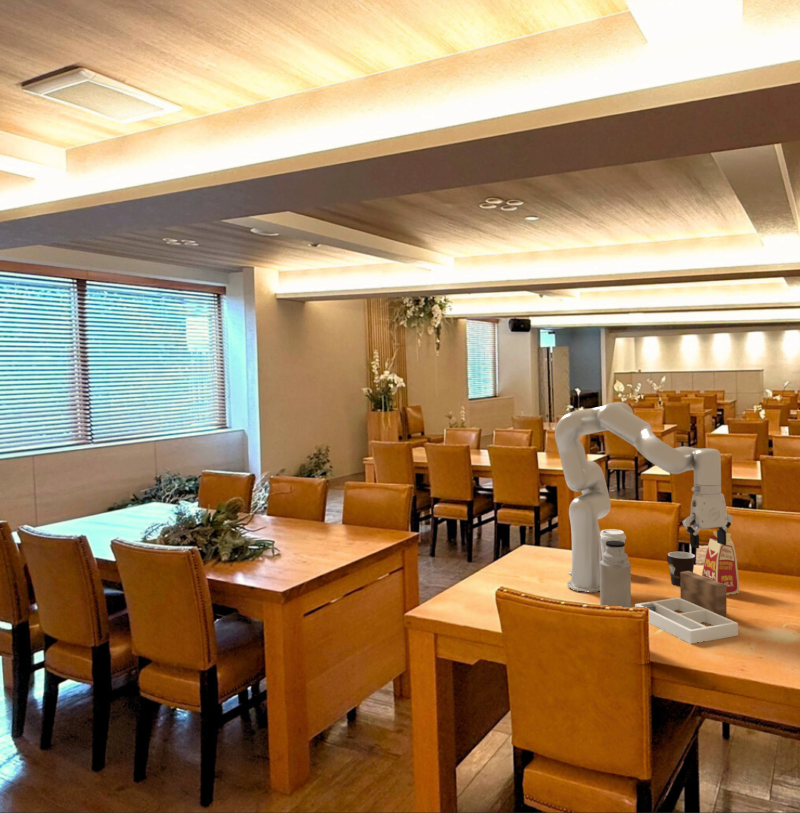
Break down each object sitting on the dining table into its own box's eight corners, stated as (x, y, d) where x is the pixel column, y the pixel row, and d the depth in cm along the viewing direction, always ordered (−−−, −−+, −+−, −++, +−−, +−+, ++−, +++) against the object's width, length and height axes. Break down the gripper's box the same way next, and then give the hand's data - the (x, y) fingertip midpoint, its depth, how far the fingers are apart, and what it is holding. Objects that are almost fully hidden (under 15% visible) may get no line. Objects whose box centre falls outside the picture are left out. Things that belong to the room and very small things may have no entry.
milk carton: (718, 596, 236) (718, 535, 235) (699, 587, 245) (699, 528, 244) (742, 593, 238) (742, 532, 237) (722, 585, 247) (722, 526, 246)
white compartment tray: (635, 615, 220) (634, 604, 220) (678, 608, 226) (678, 597, 225) (690, 644, 198) (690, 631, 198) (738, 635, 203) (738, 623, 203)
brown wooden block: (680, 603, 231) (680, 572, 230) (688, 602, 232) (688, 570, 231) (717, 619, 215) (717, 586, 215) (726, 618, 216) (726, 585, 216)
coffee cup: (596, 569, 270) (595, 528, 269) (622, 568, 269) (622, 528, 268) (602, 576, 260) (602, 535, 259) (629, 576, 260) (629, 534, 259)
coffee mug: (697, 588, 245) (697, 558, 244) (670, 587, 246) (670, 558, 246) (690, 578, 256) (690, 549, 255) (664, 577, 258) (664, 549, 257)
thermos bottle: (596, 638, 203) (595, 538, 202) (625, 637, 204) (624, 537, 202) (605, 649, 195) (604, 546, 194) (635, 648, 196) (634, 545, 194)
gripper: (691, 494, 215) (692, 551, 216) (740, 489, 220) (741, 545, 221) (675, 490, 223) (676, 545, 223) (722, 485, 227) (723, 540, 228)
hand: (708, 545), depth 222 cm, fingers open, 9 cm apart
